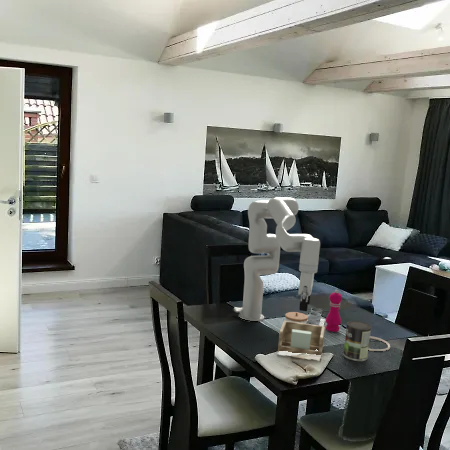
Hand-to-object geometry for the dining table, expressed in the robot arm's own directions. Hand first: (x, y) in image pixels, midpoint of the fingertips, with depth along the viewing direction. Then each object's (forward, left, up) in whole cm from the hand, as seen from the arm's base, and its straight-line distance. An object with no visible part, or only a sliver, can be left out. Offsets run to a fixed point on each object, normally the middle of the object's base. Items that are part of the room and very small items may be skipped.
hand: (304, 307), depth 230 cm
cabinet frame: (0, +2, -21) cm, 21 cm away
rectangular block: (0, -1, -20) cm, 20 cm away
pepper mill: (+12, +36, -21) cm, 44 cm away
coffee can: (+23, +6, -21) cm, 32 cm away
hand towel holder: (+29, +25, -21) cm, 43 cm away
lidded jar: (-5, +26, -21) cm, 34 cm away
